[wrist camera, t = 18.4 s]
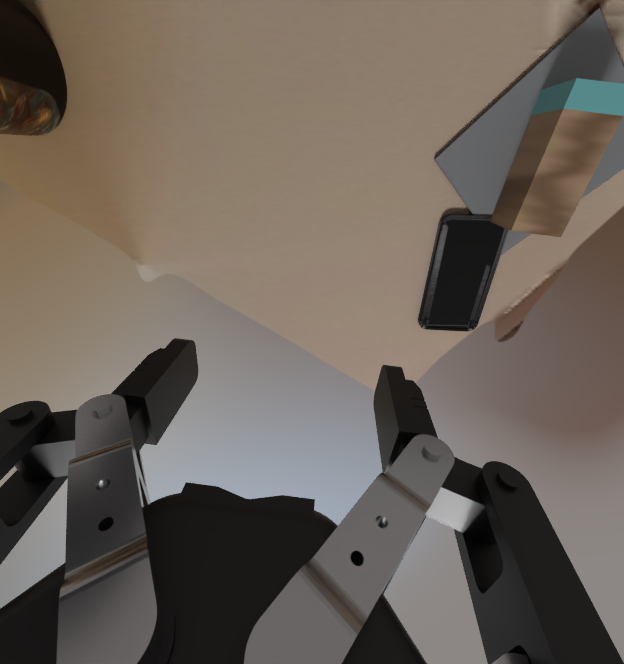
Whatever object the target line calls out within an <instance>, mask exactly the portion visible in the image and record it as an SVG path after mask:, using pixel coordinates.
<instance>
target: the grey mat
mask: <svg viewBox="0 0 624 664" xmlns="http://www.w3.org/2000/svg"><path fill="white" fill-rule="evenodd" d="M576 78H580V79H588V80H596V81H604V82H612V83H621V84H624V66H623V64H622V62H621V59H620V57H619V54H618V52H617V49H616V47H615V44H614V42H613V40H612V37H611V35H610V32H609V30H608V27H607V25H606V22H605V20H604V18H603V15H602V13H601V10H600V8H599V9H597V10H595V11H594V12H593V13H592V14H591V15H590V16H589V17H588V18H587V19H585V20H584V21H583V22H582V23H581V24H580V25H579V26H578V27H577V28H576V29H575V30H573V31H572V32H571V33H570V34H569V35H568V36H567V37H566V38H565V39H564V40H563V41H562V42H560V43H559V44H558V45H557V46H556V47H555V48H554V49H553V50H552V51H551V52H550V53H549V54H547V55H546V56H545V57H544V58H543V59H542V60H541V61H540V62H539V63H538V64H537V65H536V66H534V67H533V68H532V69H531V70H530V71H529V72H528V73H527V74H526V75H525V76H524V77H522V78H521V79H520V80H519V81H518V82H517V83H516V84H515V85H514V86H513V87H512V88H511V89H509V90H508V91H507V92H506V93H505V94H504V95H503V96H502V97H501V98H500V99H499V100H498V101H496V102H495V103H494V104H493V105H492V106H491V107H490V108H489V109H488V110H487V111H486V112H485V113H483V114H482V115H481V116H480V117H479V118H478V119H477V120H476V121H475V122H474V123H473V124H472V125H470V126H469V127H468V128H467V129H466V130H465V131H464V132H463V133H462V134H461V135H460V136H458V137H457V138H456V139H455V140H454V141H453V142H452V143H451V144H450V145H449V146H448V147H447V148H445V149H444V150H443V151H442V152H441V153H440V154H439V155H438V156H437V157H436V158H435V159H434V160H435V161H436V163H437V164H438V166H439V167H440V169H441V170H442V171H443V173H444V174H445V176H446V177H447V179H448V180H449V182H450V183H451V184H452V186H453V187H454V189H455V190H456V192H457V193H458V195H459V196H460V197H461V199H462V200H463V202H464V203H465V205H466V206H467V207H468V209H469V210H470V212H471V213H472V215H478V216H492V214H493V212H494V209H495V207H496V204H497V202H498V199H499V196H500V194H501V191H502V189H503V186H504V184H505V181H506V178H507V176H508V173H509V171H510V168H511V166H512V163H513V160H514V158H515V155H516V153H517V150H518V148H519V145H520V142H521V140H522V137H523V135H524V132H525V130H526V127H527V124H528V122H529V119H530V117H531V114H532V112H533V109H534V106H535V104H536V101H537V99H538V96H539V94H540V91H541V90H542V89H545V88H548V87H551V86H554V85H557V84H560V83H563V82H566V81H569V80H573V79H576ZM622 169H624V116H623V118H622V119H621V121H620V123H619V125H618V127H617V129H616V131H615V133H614V135H613V137H612V139H611V141H610V143H609V145H608V147H607V149H606V150H605V152H604V154H603V156H602V158H601V160H600V162H599V164H598V166H597V168H596V170H595V172H594V174H593V176H592V178H591V180H590V182H589V183H588V185H587V187H586V189H585V191H584V193H583V195H582V197H581V198H583V197H584V196H585V195H587V194H588V193H590V192H591V191H592V190H594V189H595V188H597V187H598V186H600V185H601V184H602V183H604V182H605V181H607V180H608V179H609V178H611V177H612V176H614V175H615V174H616V173H618V172H619V171H621V170H622ZM530 234H532V233H525V232H517V231H510V230H509V231H508V234H507V237H506V240H505V243H504V246H503V249H502V252H501V255H502V254H503V253H505V252H506V251H507V250H509V249H510V248H512V247H513V246H515V245H516V244H517V243H519V242H520V241H522V240H523V239H524V238H526V237H527V236H529V235H530Z"/></svg>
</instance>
